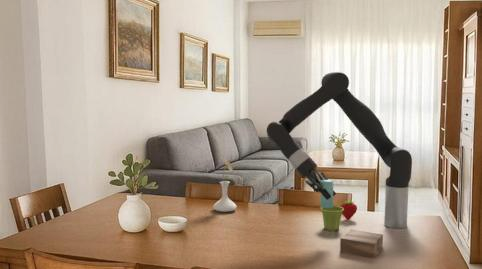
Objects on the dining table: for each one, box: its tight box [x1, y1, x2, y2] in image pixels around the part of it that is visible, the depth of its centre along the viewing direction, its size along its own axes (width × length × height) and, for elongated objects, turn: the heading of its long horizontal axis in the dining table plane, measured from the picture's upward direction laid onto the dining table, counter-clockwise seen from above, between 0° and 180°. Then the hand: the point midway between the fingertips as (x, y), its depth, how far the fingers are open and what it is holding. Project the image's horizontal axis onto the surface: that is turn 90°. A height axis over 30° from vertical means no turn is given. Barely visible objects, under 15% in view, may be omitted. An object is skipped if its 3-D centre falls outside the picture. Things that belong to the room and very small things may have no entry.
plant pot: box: [320, 205, 344, 232], centre depth 193 cm, size 9×9×9 cm
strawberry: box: [339, 198, 358, 221], centre depth 206 cm, size 6×8×10 cm
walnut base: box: [339, 229, 384, 259], centre depth 168 cm, size 12×12×5 cm
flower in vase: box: [212, 157, 238, 213], centre depth 221 cm, size 13×11×25 cm
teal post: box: [320, 179, 334, 208], centre depth 177 cm, size 5×5×10 cm
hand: (331, 196), depth 176 cm, fingers closed on teal post, 4 cm apart
